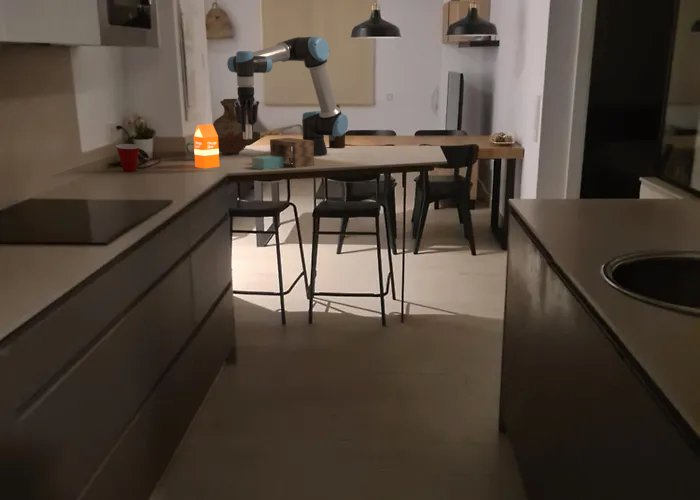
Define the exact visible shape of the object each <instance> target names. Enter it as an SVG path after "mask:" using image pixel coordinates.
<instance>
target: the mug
mask: <svg viewBox="0 0 700 500" xmlns="http://www.w3.org/2000/svg"><path fill="white" fill-rule="evenodd" d="M184 145H185V151H186V153H188V155H190V156H191V157H192V158H194V159H195V154H193V153H192V152H191V151H190V150H189V146H194V141H192V142H191V141H190V142H186V144H184Z"/></svg>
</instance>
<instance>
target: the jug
mask: <svg viewBox="0 0 700 500" xmlns="http://www.w3.org/2000/svg"><path fill="white" fill-rule="evenodd" d="M237 100H238V98H224V99H222V100H221V101H220V104H221V105H222V107H223V109H224V110H223V114H222V115H221V116H219V117H218V118H216V119H215V120H214V122H213V126H214V129H215V131H216V133H217V135H218V148H219V153H221V154H222V155H224V156H233V155H237V154H240V152H242V151H243V150H244V149H245V148H246V147H247V146H248V144H249V142H250V139H243V132H242V128H241V124H239V123H237V117H236V112H235V107H234V105H233V102H236V101H237Z"/></svg>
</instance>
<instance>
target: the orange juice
mask: <svg viewBox="0 0 700 500" xmlns="http://www.w3.org/2000/svg"><path fill="white" fill-rule="evenodd" d="M193 143H194V145H193V149H194V151H193V152H194V154H193V155H195V158H194V165H195V168H200V169H208V168H218V167H220V151H219V148H218V135H217V133H216V131H215V129H214V126H213V124H211V123H210V124H197V126H196V128H195V132H194V135H193Z"/></svg>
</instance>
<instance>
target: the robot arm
mask: <svg viewBox="0 0 700 500" xmlns="http://www.w3.org/2000/svg"><path fill="white" fill-rule="evenodd" d="M329 57H330V47H329V44H328V41H326V39H324V38H323V37H320V36H316V35H315V36H299V37H298V36H297V37H293V38H290V39H286V40H284V41H280V42H278V43H277V44H276V45H274V46H270V47H266V48H263V49H259V50H257V51H256V50H255V51H251V50H250V51H249V50H248V51H247V50H239V51H237V52H236V55H233V56H232V55H231V56H230V57H229V58H228V60H227V64H226V65H227V68H228V70H229V72H231V73H236V83H237V86H238V87H237V89H236V91H237V96H238V97H237V101H236V102H233V105H234V112H235V115H236V117H237V123H239V124H241V128H242V132H243V139H249V140H253V132H254V125H255V123H257V122H258V121H257V119H258V110H259V108H258V107H259V104H260V101H258V100H255V88H254V85H255V75H254V74H266V73H270V72H271V71H272V69H273V65H274V64H275V63H277V62H283V63H285V62H289V61H291V62H296V61H297V62H303V63H304V66H305V68H306V69H308V70H309V73H310V77H311V80H312V84H313V88H314V90H315V94H316V97H317V102H318V105H319V108H320V110H314V111H306V112H303V113H302V118H301V121H302V122H301V123H302V124H301V126H302V139H304V140H312V141H314V156H322V155H327V154H328V149H327V145H326V143H325V136H328V137H329V136H342V135H343V134H344V133H345V134H346V132H347V129H348V126H349V120H348V117H347V115H346V114H344V113H342V111H341V108H338V107H337V106H336V105H337V104H336V103H337V102H336V99H335V94H334V92H333V87H332V85H331V79H330V78H329V74H328V70H327V65H326V64H327V63H328V59H329ZM341 113H342V114H341ZM247 122H248V124H247Z"/></svg>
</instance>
